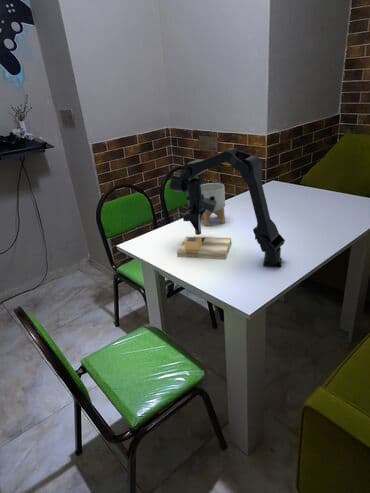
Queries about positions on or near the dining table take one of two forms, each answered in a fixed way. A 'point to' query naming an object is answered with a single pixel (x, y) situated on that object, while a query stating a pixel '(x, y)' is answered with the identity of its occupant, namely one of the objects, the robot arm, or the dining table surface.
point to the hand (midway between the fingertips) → (197, 228)
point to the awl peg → (198, 229)
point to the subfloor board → (208, 248)
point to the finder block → (193, 243)
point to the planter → (219, 195)
